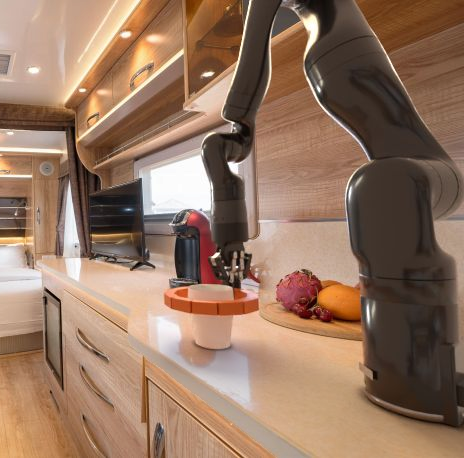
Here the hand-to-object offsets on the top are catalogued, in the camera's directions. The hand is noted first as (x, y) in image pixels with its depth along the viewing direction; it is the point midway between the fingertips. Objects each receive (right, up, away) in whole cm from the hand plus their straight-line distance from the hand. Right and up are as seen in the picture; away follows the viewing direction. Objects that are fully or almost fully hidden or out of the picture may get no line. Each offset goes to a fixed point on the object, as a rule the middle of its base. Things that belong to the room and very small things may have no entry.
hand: (232, 297), depth 74 cm
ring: (-7, -1, -4) cm, 8 cm away
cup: (-7, -9, -4) cm, 12 cm away
